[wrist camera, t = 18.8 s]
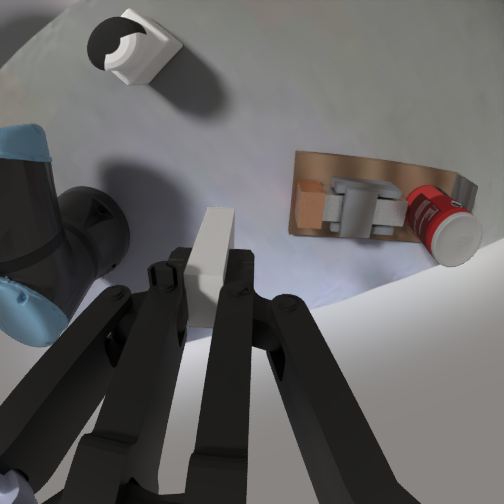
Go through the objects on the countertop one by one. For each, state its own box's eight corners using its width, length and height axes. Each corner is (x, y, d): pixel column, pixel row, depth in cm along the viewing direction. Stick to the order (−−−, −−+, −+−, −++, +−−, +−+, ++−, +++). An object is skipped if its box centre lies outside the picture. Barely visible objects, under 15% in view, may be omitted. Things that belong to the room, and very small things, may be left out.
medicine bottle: (113, 55, 34) (67, 53, 24) (147, 16, 32) (110, -1, 22) (148, 84, 37) (110, 89, 27) (184, 45, 34) (157, 34, 24)
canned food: (448, 218, 44) (484, 253, 35) (407, 237, 46) (437, 277, 37) (440, 175, 41) (480, 204, 31) (395, 194, 43) (428, 228, 33)
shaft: (294, 212, 44) (297, 227, 40) (297, 179, 42) (301, 191, 38) (392, 219, 44) (404, 234, 40) (399, 189, 42) (412, 201, 38)
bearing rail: (288, 230, 48) (292, 253, 42) (295, 150, 41) (301, 163, 36) (438, 240, 48) (456, 260, 42) (456, 172, 42) (479, 187, 36)
